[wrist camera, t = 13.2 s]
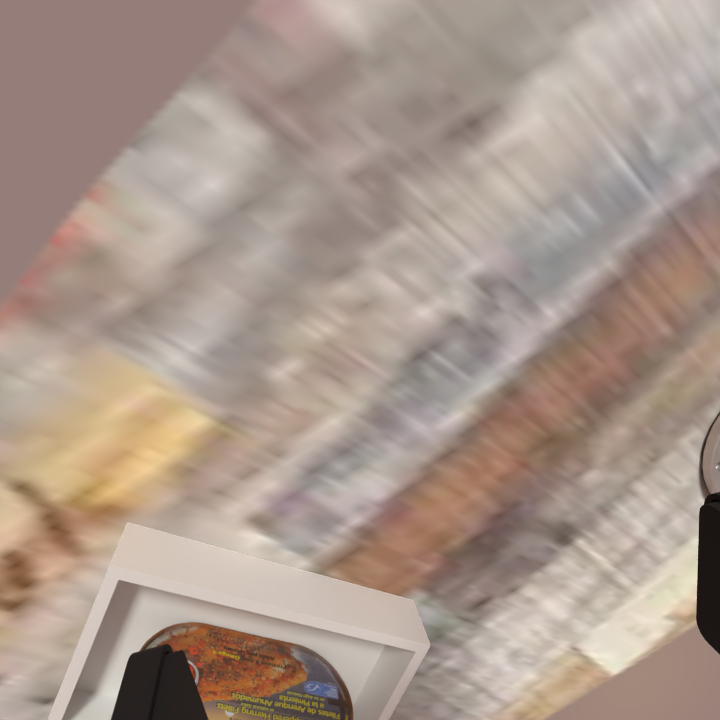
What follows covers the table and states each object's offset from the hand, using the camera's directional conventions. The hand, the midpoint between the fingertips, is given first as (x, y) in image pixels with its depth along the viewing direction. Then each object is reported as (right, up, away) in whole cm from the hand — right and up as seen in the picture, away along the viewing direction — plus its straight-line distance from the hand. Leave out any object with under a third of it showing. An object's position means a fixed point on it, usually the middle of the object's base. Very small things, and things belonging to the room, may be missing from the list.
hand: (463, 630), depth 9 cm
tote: (-10, -16, +31) cm, 36 cm away
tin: (-10, -16, +30) cm, 36 cm away
